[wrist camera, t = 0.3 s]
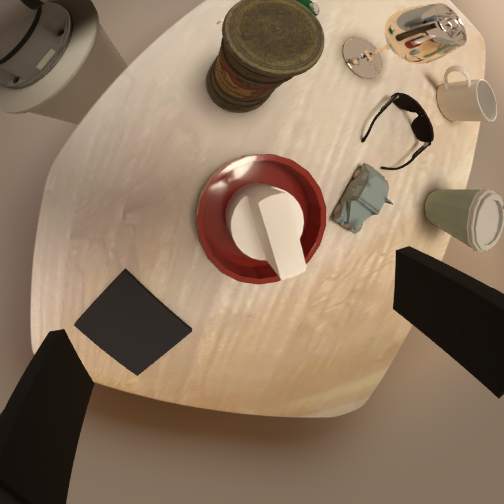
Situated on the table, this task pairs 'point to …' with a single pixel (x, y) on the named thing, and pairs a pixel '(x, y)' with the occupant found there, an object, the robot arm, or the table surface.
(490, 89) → the mug
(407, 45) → the wineglass
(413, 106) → the sunglasses
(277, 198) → the base with upright slab
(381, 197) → the toy car
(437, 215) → the disposable coffee cup
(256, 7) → the container
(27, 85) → the robot arm
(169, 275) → the table surface
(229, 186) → the red round dish
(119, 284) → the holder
